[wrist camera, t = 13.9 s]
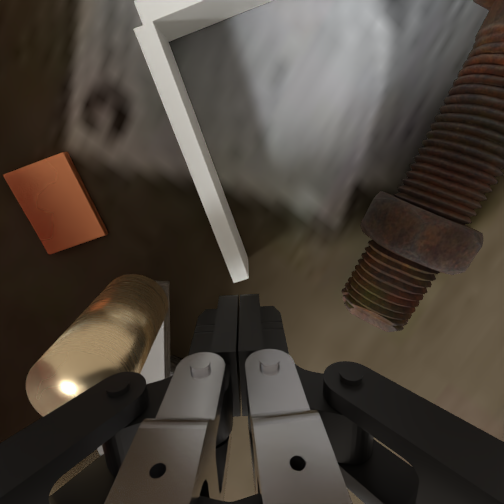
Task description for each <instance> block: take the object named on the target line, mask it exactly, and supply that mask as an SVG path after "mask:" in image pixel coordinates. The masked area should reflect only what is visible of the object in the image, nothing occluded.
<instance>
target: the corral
mask: <svg viewBox="0 0 504 504" xmlns="http://www.w3.org/2000/svg"><path fill="white" fill-rule="evenodd" d="M271 1H273V0H136V1H134V3H135V6H136V8H137V11H138V14H139V16H140V19H141V21H142V24H143V25H142V26H139V27H137V28H134V32H135V34H136V37H137V39H138V42H139V44H140V47H141V49H142V52H143V54H144V57H145V59H146V62H147V65H148V67H149V70H150V72H151V75H152V77H153V80H154V82H155V85H156V87H157V90H158V92H159V95H160V98H161V100H162V103H163V105H164V108H165V110H166V113H167V115H168V118H169V120H170V123H171V125H172V128H173V131H174V133H175V136H176V138H177V141H178V143H179V146H180V148H181V151H182V153H183V156H184V158H185V161H186V164H187V166H188V169H189V171H190V174H191V176H192V179H193V181H194V184H195V186H196V189H197V191H198V194H199V197H200V199H201V202H202V204H203V207H204V209H205V212H206V214H207V217H208V219H209V222H210V224H211V227H212V229H213V232H214V235H215V237H216V240H217V242H218V245H219V247H220V250H221V252H222V255H223V257H224V260H225V262H226V265H227V268H228V270H229V273H230V275H231V278H232V280H233V283H236V282H239V281H242V280H245V279H248V278H249V267H248V256H247V254H246V251H245V248H244V246H243V243H242V240H241V237H240V235H239V232H238V229H237V227H236V224H235V221H234V218H233V216H232V213H231V210H230V208H229V205H228V202H227V199H226V197H225V194H224V191H223V188H222V186H221V183H220V180H219V178H218V175H217V172H216V169H215V167H214V164H213V161H212V159H211V156H210V153H209V150H208V148H207V145H206V142H205V140H204V137H203V134H202V131H201V129H200V126H199V123H198V120H197V118H196V115H195V112H194V110H193V107H192V104H191V101H190V99H189V96H188V93H187V91H186V88H185V85H184V82H183V80H182V77H181V74H180V72H179V69H178V66H177V63H176V61H175V58H174V55H173V52H172V50H171V47H170V44H169V42H170V41H172V40H175V39H177V38H180V37H182V36H185V35H187V34H190V33H192V32H195V31H197V30H200V29H203V28H205V27H208V26H210V25H213V24H215V23H218V22H220V21H223V20H225V19H228V18H230V17H233V16H235V15H238V14H240V13H243V12H245V11H248V10H251V9H253V8H256V7H258V6H261V5H263V4H266V3H268V2H271Z"/></svg>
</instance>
